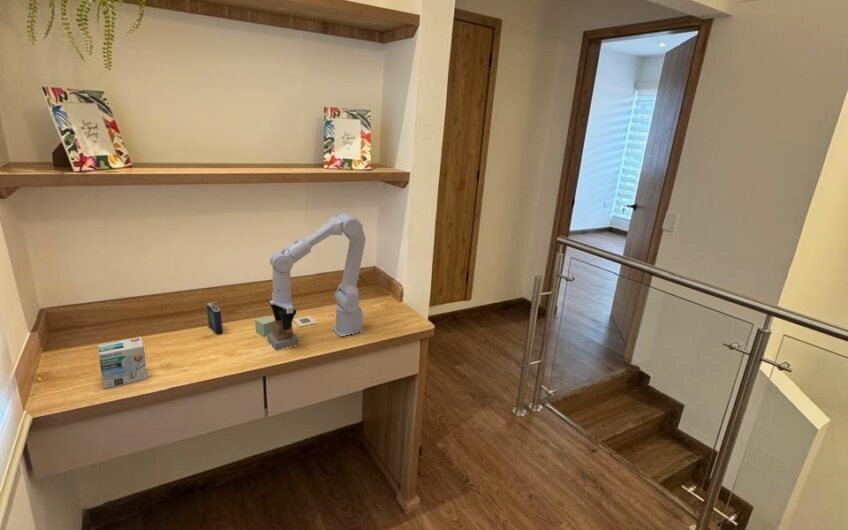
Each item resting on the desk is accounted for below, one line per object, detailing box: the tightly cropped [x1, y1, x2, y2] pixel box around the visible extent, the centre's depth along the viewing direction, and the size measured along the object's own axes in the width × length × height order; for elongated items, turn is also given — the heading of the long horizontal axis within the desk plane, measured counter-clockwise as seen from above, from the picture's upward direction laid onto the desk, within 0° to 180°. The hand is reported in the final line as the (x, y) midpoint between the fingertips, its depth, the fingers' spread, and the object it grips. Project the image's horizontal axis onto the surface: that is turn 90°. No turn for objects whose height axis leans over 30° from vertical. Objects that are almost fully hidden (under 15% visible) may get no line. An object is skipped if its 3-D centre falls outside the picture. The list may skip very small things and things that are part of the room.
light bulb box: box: [97, 336, 148, 390], centre depth 128 cm, size 11×7×11 cm, turn 126°
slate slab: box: [266, 331, 300, 351], centre depth 156 cm, size 8×8×3 cm
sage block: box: [254, 315, 276, 338], centre depth 161 cm, size 5×5×5 cm
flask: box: [206, 301, 224, 336], centre depth 159 cm, size 9×3×11 cm, turn 43°
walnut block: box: [273, 320, 293, 341], centre depth 154 cm, size 5×5×5 cm
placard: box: [292, 315, 318, 328], centre depth 172 cm, size 7×7×1 cm
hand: (282, 324), depth 154 cm, fingers open, 7 cm apart
